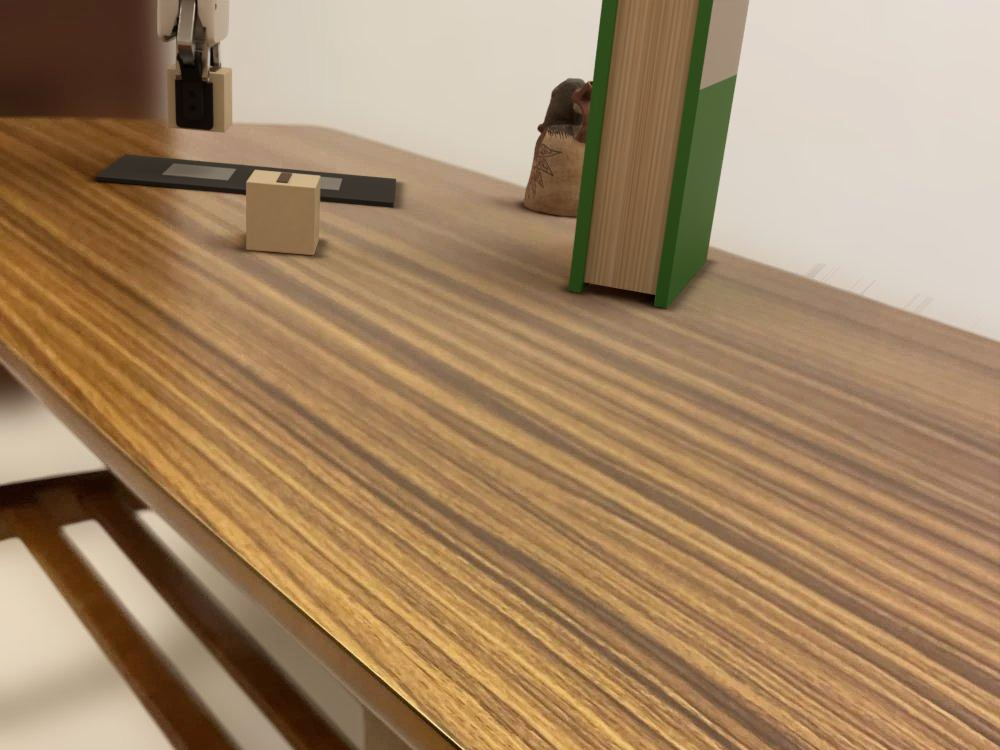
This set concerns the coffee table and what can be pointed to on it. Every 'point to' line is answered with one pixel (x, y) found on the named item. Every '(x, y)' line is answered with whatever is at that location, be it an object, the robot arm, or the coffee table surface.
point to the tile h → (221, 98)
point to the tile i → (282, 212)
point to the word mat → (241, 178)
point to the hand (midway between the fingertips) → (200, 121)
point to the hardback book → (655, 142)
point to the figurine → (560, 151)
